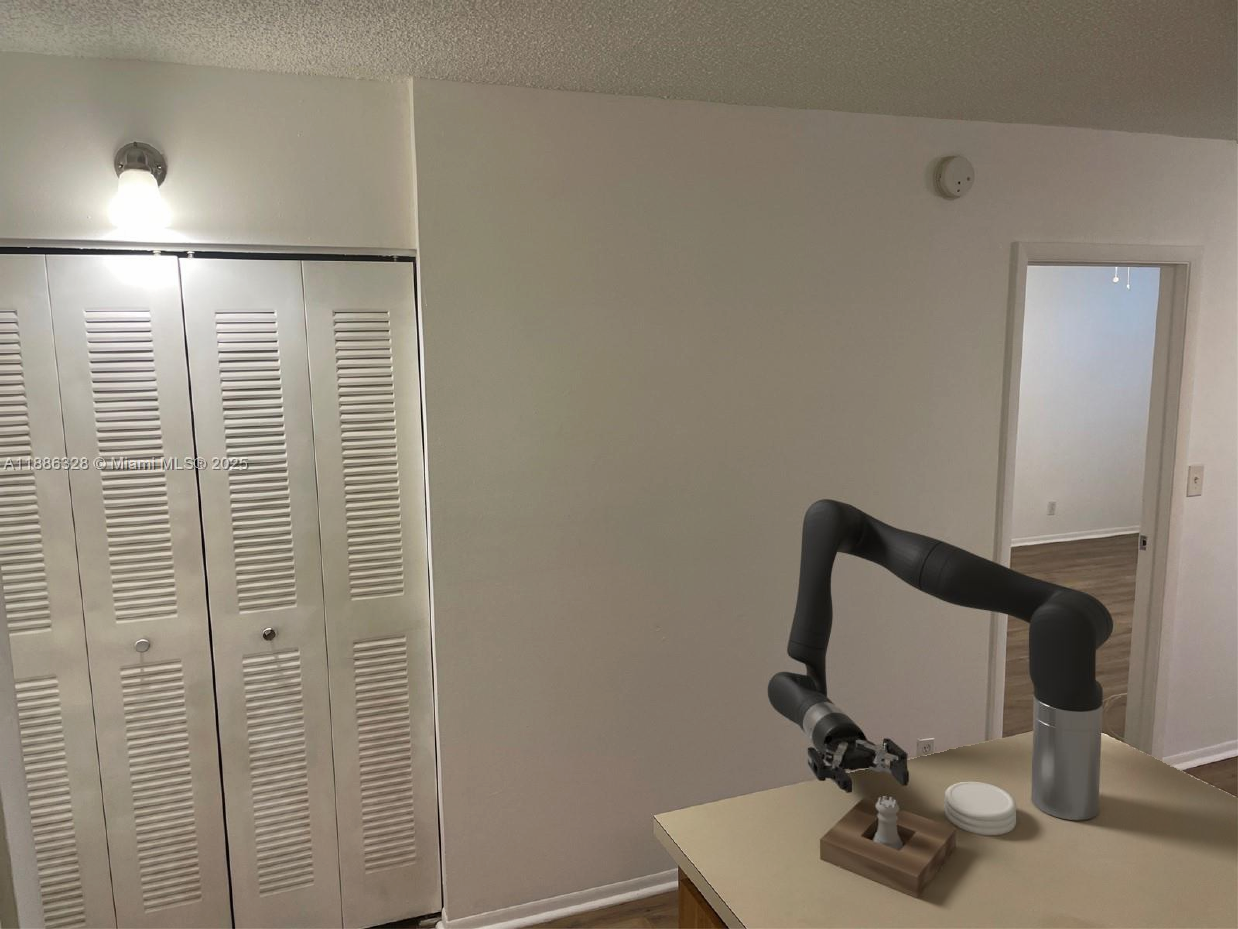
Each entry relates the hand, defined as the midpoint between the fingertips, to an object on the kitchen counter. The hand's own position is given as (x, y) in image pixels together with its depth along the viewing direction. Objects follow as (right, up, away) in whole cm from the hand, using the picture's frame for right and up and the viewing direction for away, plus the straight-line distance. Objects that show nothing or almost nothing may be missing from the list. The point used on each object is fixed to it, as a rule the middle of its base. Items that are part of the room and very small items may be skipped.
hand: (878, 783), depth 121 cm
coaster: (+17, -8, +6) cm, 20 cm away
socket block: (+1, -9, -2) cm, 10 cm away
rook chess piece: (+1, -9, -2) cm, 10 cm away
